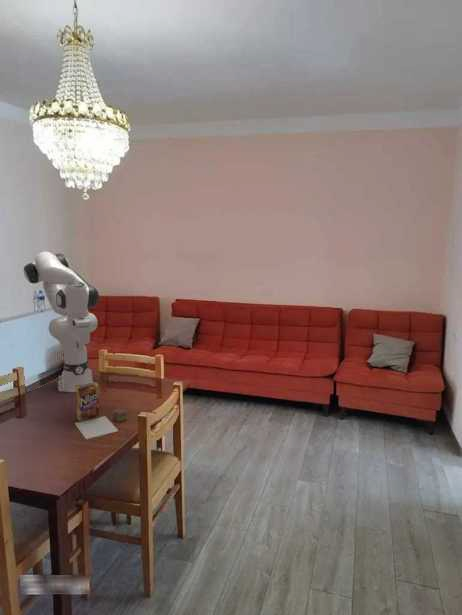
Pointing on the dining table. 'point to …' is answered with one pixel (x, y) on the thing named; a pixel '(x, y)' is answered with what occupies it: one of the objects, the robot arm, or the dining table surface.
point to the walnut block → (119, 415)
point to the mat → (96, 427)
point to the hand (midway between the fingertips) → (79, 349)
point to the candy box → (87, 401)
